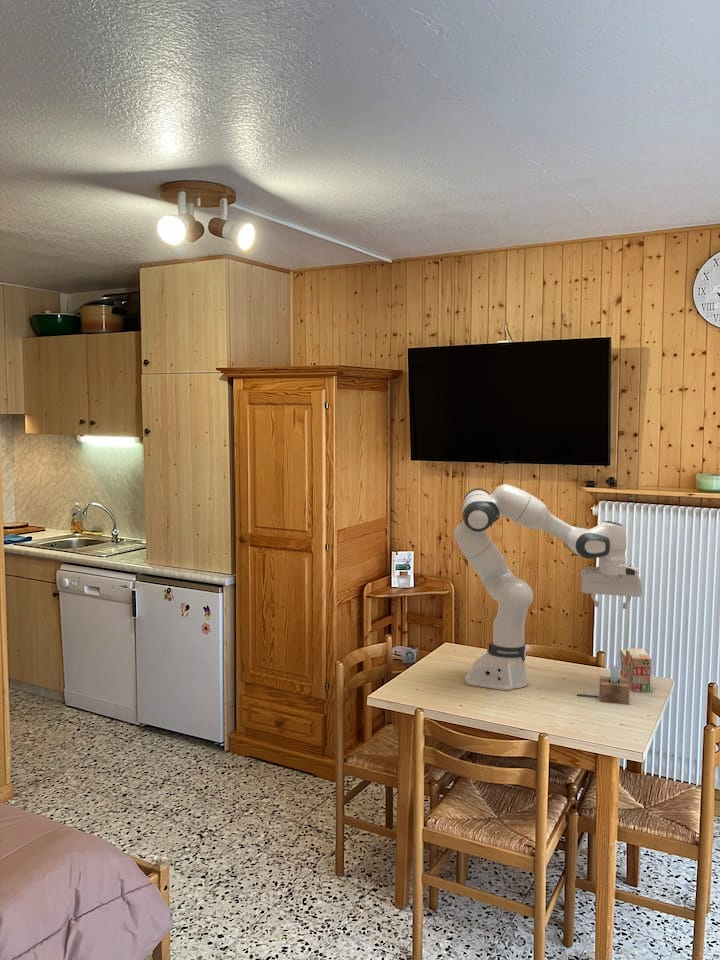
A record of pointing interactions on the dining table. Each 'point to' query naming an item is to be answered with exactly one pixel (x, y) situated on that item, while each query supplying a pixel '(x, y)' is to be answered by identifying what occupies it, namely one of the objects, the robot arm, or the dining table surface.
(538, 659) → the dining table surface
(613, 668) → the blue-grey upright bar
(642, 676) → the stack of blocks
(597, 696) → the lace
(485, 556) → the robot arm
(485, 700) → the dining table surface
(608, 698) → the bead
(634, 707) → the dining table surface
